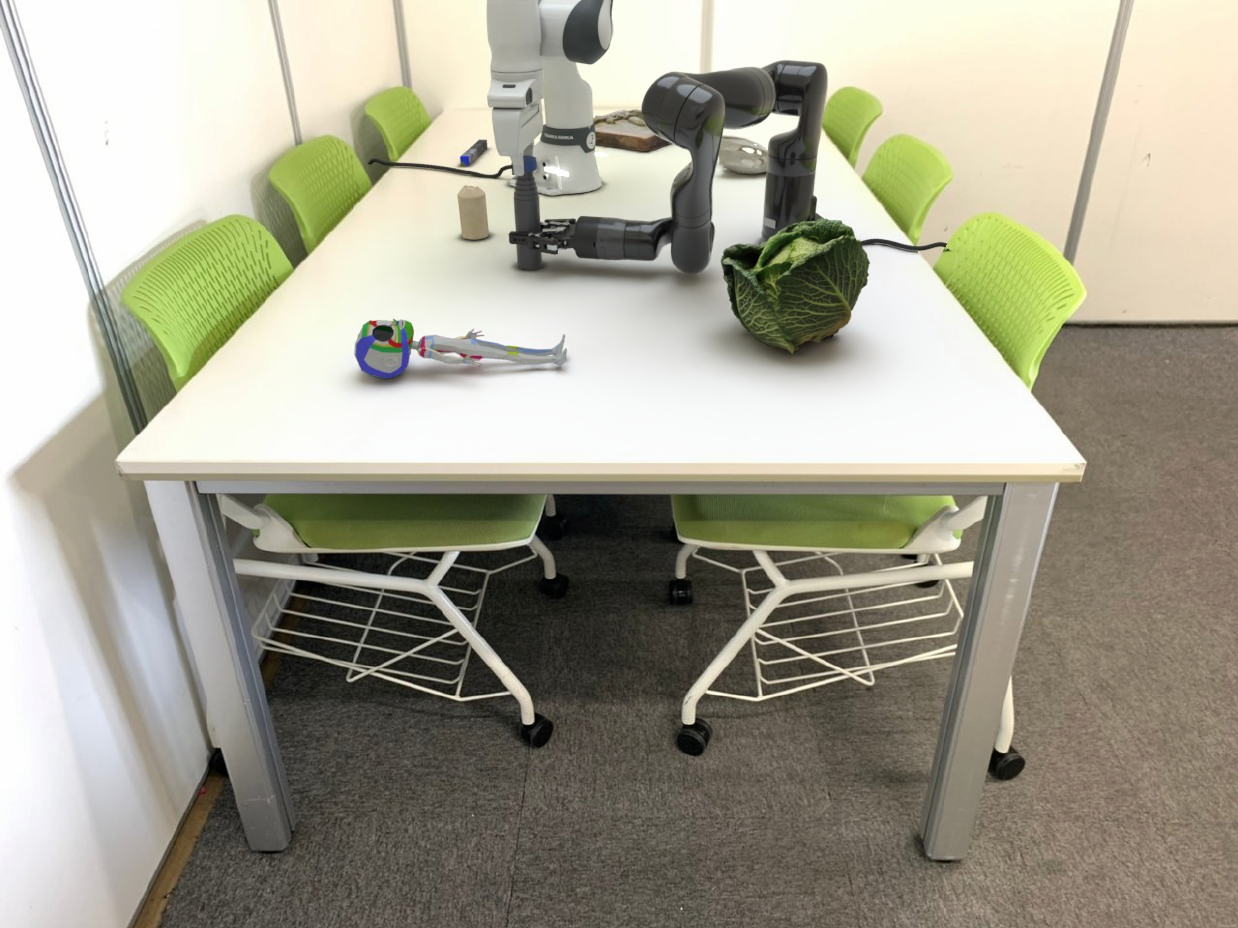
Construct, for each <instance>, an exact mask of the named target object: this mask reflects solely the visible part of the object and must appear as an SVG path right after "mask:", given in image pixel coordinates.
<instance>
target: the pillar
mask: <svg viewBox="0 0 1238 928" xmlns="http://www.w3.org/2000/svg"><path fill="white" fill-rule="evenodd" d="M487 149H488V140H487V139H478V140H477V141H476V142H474V144H473V145H471V146H470V147H469V148H468V149H467V150H466V151H465V152H463V154H461V155H460V156H459V163H460V164H459V165H460V166H461V167H465V166H466V167H467V166H470V165H472V164H473V162H475V161H476V160H477V158H479V157H480V156H481V155H482V154H483V153H484V152H485V151H486V150H487Z"/></svg>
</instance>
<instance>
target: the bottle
mask: <svg viewBox="0 0 1238 928" xmlns="http://www.w3.org/2000/svg"><path fill="white" fill-rule="evenodd" d="M515 186H516V187H514V191H513V211H514V225H515V226H514V227H515V231H518V232H540V231H541V227H540V222H541V205H540V195H539V194H540V193H539V192H538V191H537V186H536V182H535V177H533V171H532V172H525V174H524V175H523V176H517V177H516V183H515ZM539 237H540V236H539ZM535 243H538V241H535ZM515 245H516V260H517V261H516V263H517V268H519V269H520V270H525V271H531V270H532V271H533V270H534V271H535V270H539V269H540V268H542V267H543V253H541V252H536V251H530V250H529V245H518V244H515Z"/></svg>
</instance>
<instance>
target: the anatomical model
mask: <svg viewBox="0 0 1238 928" xmlns="http://www.w3.org/2000/svg"><path fill="white" fill-rule="evenodd" d="M744 149H752V150H753V152H752V153H750V152H748V151H746V150H744ZM758 151H760V153H761V154H760V153H758ZM767 156H768V149H766V147H764V145H762V144H760V143H758V142H756V141H753V140H750V139H748V138H744V137H741V136H736V135H726V134H723V135H722V140H721V146H720V151H719V156H718V165H722V166H723V167H724V169H726V170H727V171H731V170H732V171H734V172H736V173H738V174H743V175H744V174H745V175H748V174H749V175H752V174H761V173H766V171H767Z"/></svg>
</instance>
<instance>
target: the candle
mask: <svg viewBox="0 0 1238 928" xmlns="http://www.w3.org/2000/svg"><path fill="white" fill-rule="evenodd" d="M456 196H457V202H458V203H457V205H458V211H459V223H460V229H461V236H462V238H463V239H465V240H482V239H485V238H488V236H490V229H489V219H488V209H487V208H488V207H487V197H486V192H485V191H484V190H483V189H482V188H481V187H479V186H473V185H467V184H465V185H464V186H462V188H461V189H460V190H459V192H458V193H457V195H456Z"/></svg>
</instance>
